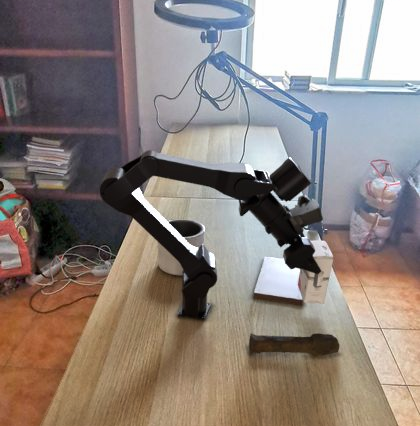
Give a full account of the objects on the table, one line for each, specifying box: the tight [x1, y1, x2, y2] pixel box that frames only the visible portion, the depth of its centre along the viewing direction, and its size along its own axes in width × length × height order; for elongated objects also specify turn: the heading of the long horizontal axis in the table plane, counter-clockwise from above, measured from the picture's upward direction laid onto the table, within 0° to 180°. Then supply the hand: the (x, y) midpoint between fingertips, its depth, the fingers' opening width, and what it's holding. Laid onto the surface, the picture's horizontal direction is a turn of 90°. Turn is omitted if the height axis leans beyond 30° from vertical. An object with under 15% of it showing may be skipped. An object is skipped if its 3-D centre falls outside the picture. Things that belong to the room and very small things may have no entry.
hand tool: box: [248, 332, 341, 357], centre depth 102 cm, size 19×4×5 cm, turn 87°
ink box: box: [298, 240, 334, 305], centre depth 110 cm, size 9×5×12 cm, turn 2°
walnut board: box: [252, 256, 304, 306], centre depth 127 cm, size 20×12×2 cm, turn 167°
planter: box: [157, 218, 206, 277], centre depth 130 cm, size 12×12×11 cm
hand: (315, 262), depth 109 cm, fingers closed on ink box, 8 cm apart
